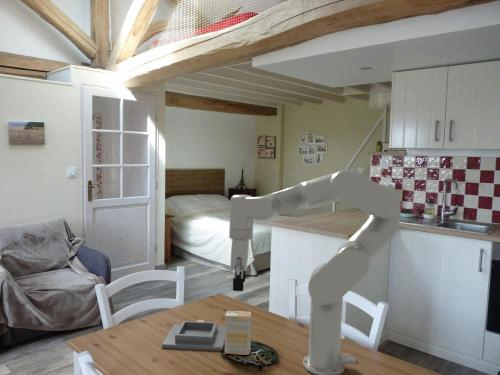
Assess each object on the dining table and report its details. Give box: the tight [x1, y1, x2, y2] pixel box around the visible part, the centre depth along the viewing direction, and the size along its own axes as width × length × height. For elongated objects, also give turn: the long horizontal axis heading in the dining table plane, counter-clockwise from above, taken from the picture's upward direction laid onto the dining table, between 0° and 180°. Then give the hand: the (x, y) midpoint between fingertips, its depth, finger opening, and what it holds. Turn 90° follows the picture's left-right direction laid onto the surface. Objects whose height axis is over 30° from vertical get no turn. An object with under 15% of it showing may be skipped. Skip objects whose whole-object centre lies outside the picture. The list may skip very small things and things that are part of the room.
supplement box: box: [224, 310, 252, 356], centre depth 130 cm, size 8×5×13 cm, turn 84°
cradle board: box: [161, 319, 225, 352], centre depth 140 cm, size 20×17×4 cm
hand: (239, 286), depth 129 cm, fingers open, 9 cm apart
